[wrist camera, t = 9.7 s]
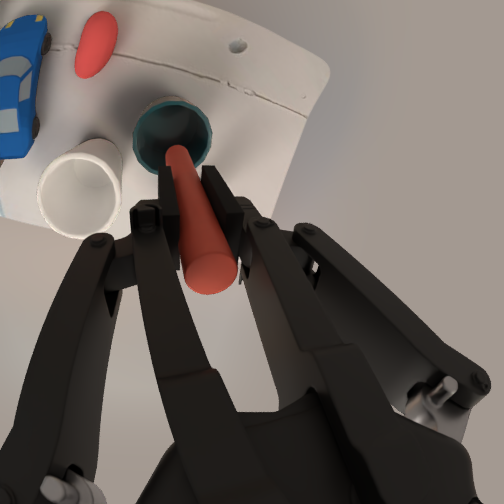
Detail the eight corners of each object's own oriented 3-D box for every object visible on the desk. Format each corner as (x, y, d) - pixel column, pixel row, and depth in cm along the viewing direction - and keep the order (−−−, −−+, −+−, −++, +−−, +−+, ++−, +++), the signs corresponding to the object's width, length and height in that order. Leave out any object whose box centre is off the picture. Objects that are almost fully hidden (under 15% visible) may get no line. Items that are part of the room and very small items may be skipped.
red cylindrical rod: (165, 144, 22) (184, 253, 9) (189, 144, 22) (241, 250, 10) (165, 167, 23) (184, 297, 10) (187, 166, 23) (235, 292, 11)
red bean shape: (136, 30, 26) (125, 4, 20) (106, 84, 27) (87, 63, 21) (105, 29, 26) (91, 5, 19) (75, 81, 26) (54, 61, 20)
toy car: (60, 13, 19) (49, 6, 15) (39, 150, 30) (27, 160, 26) (7, 23, 16) (-9, 19, 12) (-9, 153, 26) (-24, 164, 22)
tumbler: (125, 126, 33) (116, 142, 25) (172, 83, 32) (176, 84, 24) (166, 165, 38) (170, 191, 31) (211, 126, 37) (227, 140, 29)
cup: (103, 206, 38) (89, 255, 28) (55, 169, 32) (22, 208, 22) (144, 157, 36) (140, 190, 27) (94, 115, 30) (69, 132, 21)
